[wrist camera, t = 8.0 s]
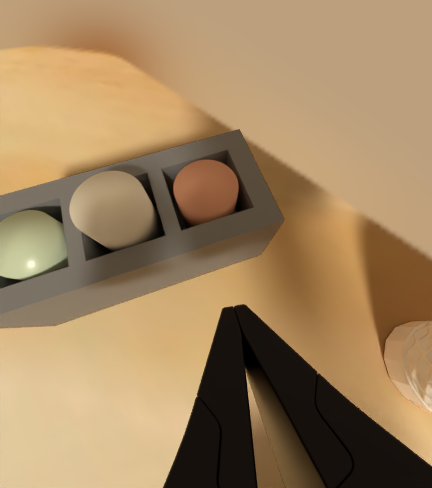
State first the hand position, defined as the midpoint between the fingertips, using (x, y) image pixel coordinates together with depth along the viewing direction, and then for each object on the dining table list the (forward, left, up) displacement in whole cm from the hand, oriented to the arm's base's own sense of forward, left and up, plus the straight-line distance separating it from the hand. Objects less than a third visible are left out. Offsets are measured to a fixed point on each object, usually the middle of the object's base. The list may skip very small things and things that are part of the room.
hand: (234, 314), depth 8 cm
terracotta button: (+6, +5, -9) cm, 12 cm away
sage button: (-3, +13, -9) cm, 16 cm away
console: (+2, +9, -12) cm, 15 cm away
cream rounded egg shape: (+2, +9, -7) cm, 12 cm away
